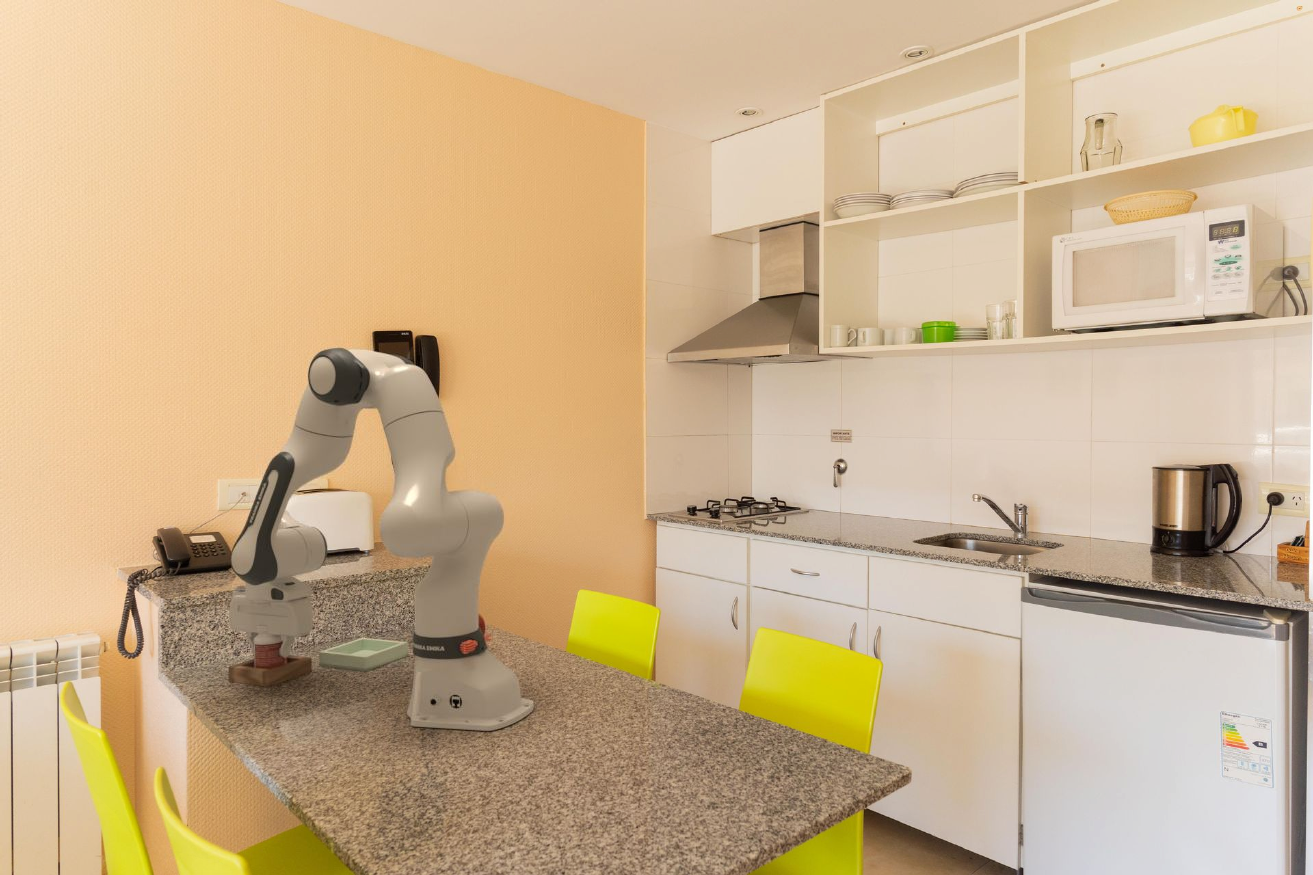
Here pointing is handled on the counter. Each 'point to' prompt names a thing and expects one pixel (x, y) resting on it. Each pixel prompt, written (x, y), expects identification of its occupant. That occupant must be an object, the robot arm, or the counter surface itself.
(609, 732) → the counter surface
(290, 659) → the collar
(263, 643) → the pill bottle
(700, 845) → the counter surface
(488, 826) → the counter surface
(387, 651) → the tray
